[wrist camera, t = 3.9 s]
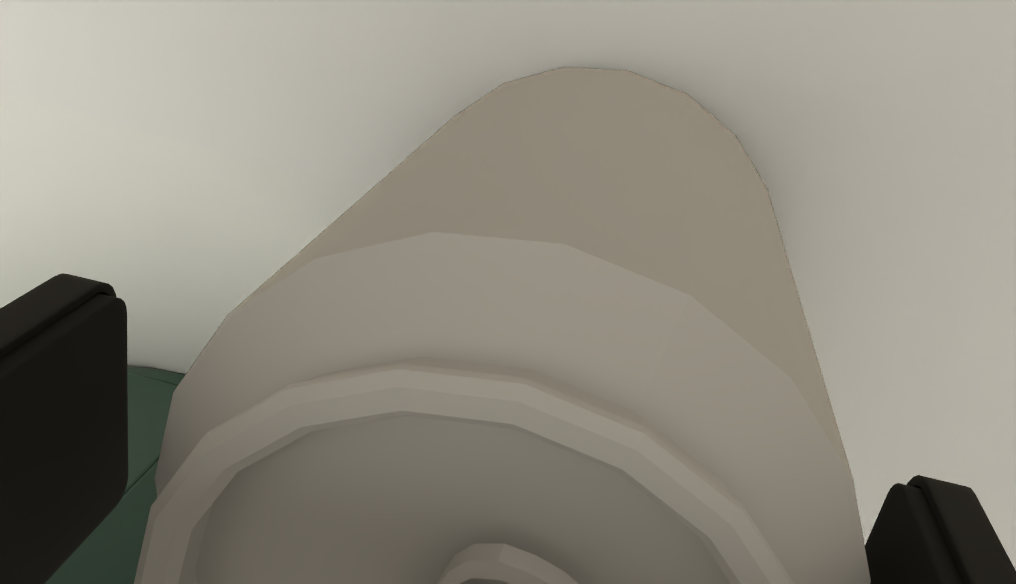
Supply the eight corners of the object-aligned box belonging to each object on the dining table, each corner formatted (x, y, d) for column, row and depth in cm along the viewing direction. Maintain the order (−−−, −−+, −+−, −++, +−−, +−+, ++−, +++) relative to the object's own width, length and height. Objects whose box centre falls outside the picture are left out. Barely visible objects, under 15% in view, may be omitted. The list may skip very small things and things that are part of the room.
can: (359, 290, 20) (-28, 737, 9) (518, -16, 17) (216, 113, 6) (643, 455, 20) (597, 1077, 9) (852, 186, 17) (1143, 656, 6)
